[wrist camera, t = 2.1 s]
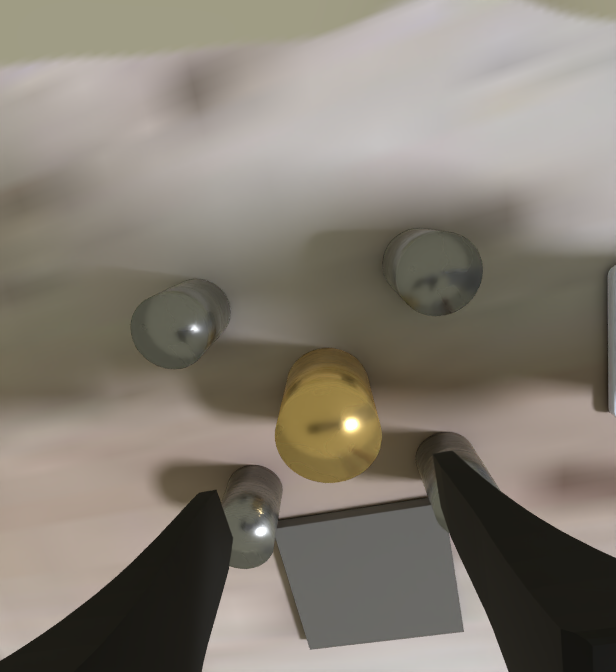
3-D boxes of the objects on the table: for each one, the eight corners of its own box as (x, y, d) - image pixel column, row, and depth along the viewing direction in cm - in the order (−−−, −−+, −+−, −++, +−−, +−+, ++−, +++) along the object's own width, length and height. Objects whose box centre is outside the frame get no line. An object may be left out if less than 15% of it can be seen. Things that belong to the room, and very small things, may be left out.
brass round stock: (360, 340, 20) (371, 379, 15) (375, 415, 21) (389, 473, 16) (277, 356, 20) (263, 399, 16) (297, 429, 22) (288, 490, 17)
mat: (441, 495, 22) (444, 503, 22) (460, 622, 25) (463, 631, 25) (274, 521, 24) (272, 529, 23) (310, 640, 26) (309, 649, 26)
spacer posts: (445, 221, 18) (477, 222, 14) (476, 476, 22) (508, 531, 18) (159, 286, 20) (119, 303, 16) (236, 514, 24) (219, 572, 20)
